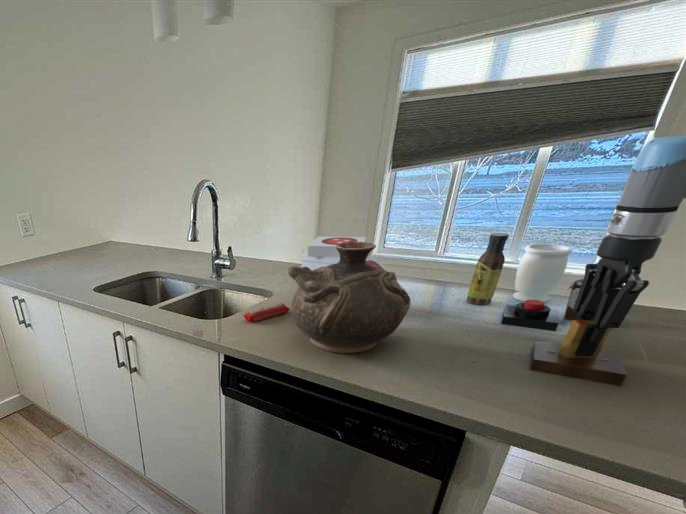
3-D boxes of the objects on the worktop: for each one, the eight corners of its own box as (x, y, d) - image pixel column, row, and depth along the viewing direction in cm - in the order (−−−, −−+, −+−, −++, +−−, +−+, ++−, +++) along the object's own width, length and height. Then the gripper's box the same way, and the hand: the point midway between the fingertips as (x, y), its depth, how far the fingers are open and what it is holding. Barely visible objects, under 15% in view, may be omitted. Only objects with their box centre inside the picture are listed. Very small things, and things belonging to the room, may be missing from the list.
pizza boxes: (377, 317, 118) (388, 255, 109) (290, 298, 138) (294, 244, 129) (406, 300, 128) (418, 241, 119) (321, 284, 149) (326, 233, 140)
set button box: (554, 318, 108) (560, 303, 106) (555, 331, 101) (561, 316, 99) (503, 312, 114) (508, 298, 112) (500, 324, 107) (505, 309, 105)
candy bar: (248, 324, 122) (248, 315, 120) (241, 320, 124) (241, 311, 123) (291, 313, 127) (291, 303, 125) (283, 309, 130) (284, 300, 128)
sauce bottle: (462, 299, 125) (481, 231, 115) (485, 299, 123) (507, 230, 113) (470, 306, 120) (491, 236, 110) (494, 306, 118) (518, 235, 108)
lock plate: (614, 363, 86) (620, 351, 85) (621, 385, 79) (627, 374, 78) (530, 350, 94) (535, 339, 93) (529, 369, 87) (534, 358, 85)
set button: (542, 307, 106) (545, 300, 105) (542, 311, 103) (545, 305, 102) (523, 304, 108) (525, 298, 107) (522, 309, 106) (525, 303, 105)
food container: (620, 320, 104) (639, 281, 99) (620, 328, 100) (640, 288, 95) (556, 311, 111) (571, 275, 106) (555, 319, 107) (570, 282, 102)
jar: (501, 293, 126) (517, 244, 119) (539, 292, 124) (558, 242, 117) (519, 304, 117) (537, 252, 110) (560, 304, 115) (582, 250, 108)
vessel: (265, 342, 109) (272, 246, 98) (326, 319, 124) (338, 233, 112) (359, 374, 90) (380, 259, 78) (418, 342, 104) (443, 241, 93)
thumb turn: (589, 353, 86) (605, 319, 82) (596, 358, 84) (613, 323, 80) (558, 352, 87) (573, 319, 83) (564, 357, 85) (580, 323, 81)
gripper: (581, 228, 80) (538, 336, 92) (638, 245, 67) (580, 368, 79) (628, 226, 79) (578, 337, 90) (695, 243, 66) (627, 369, 77)
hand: (579, 351), depth 85 cm, fingers closed on thumb turn, 2 cm apart
